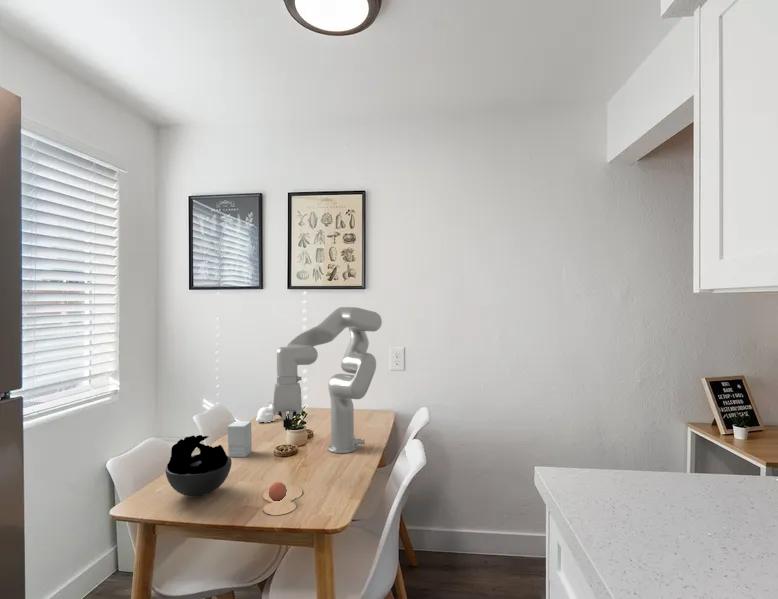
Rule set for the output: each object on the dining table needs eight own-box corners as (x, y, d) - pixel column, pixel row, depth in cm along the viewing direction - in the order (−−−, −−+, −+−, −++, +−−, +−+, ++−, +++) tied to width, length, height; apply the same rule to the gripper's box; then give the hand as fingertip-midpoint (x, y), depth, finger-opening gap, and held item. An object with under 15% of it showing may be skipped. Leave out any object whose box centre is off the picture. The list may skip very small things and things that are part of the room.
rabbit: (272, 418, 246) (272, 395, 246) (283, 421, 239) (282, 398, 239) (252, 422, 237) (252, 399, 237) (262, 426, 230) (262, 402, 230)
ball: (284, 496, 142) (286, 504, 146) (286, 478, 146) (288, 486, 150) (266, 496, 142) (268, 504, 146) (268, 479, 146) (270, 486, 150)
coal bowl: (184, 481, 161) (183, 428, 161) (240, 482, 161) (240, 428, 161) (153, 508, 141) (152, 446, 141) (217, 508, 141) (216, 447, 141)
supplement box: (252, 451, 193) (252, 421, 193) (245, 457, 185) (244, 426, 185) (235, 450, 193) (235, 420, 193) (227, 457, 186) (227, 425, 186)
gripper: (308, 377, 176) (308, 425, 177) (267, 379, 174) (268, 427, 175) (307, 381, 169) (307, 431, 169) (265, 382, 167) (265, 433, 167)
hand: (287, 429), depth 172 cm, fingers closed
